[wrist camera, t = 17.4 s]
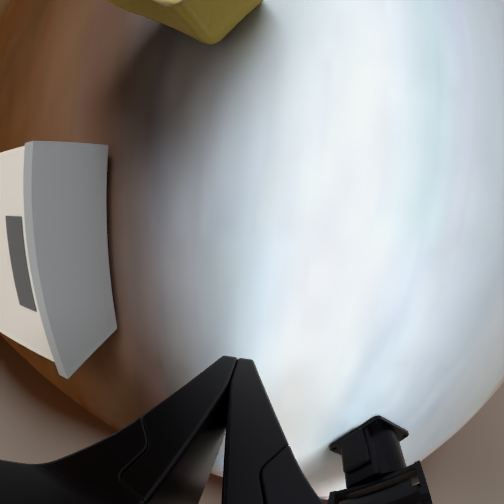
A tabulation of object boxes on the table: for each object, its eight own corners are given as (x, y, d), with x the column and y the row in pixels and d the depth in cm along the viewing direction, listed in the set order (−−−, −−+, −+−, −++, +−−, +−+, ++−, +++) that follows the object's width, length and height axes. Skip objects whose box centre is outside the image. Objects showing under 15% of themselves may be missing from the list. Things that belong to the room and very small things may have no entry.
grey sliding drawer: (29, 299, 21) (-17, 328, 14) (16, 159, 17) (-42, 165, 10) (117, 328, 20) (67, 378, 13) (108, 145, 16) (33, 141, 9)
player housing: (29, 293, 22) (-17, 321, 15) (17, 159, 18) (-39, 165, 11) (115, 320, 21) (65, 368, 14) (107, 146, 17) (35, 143, 10)
